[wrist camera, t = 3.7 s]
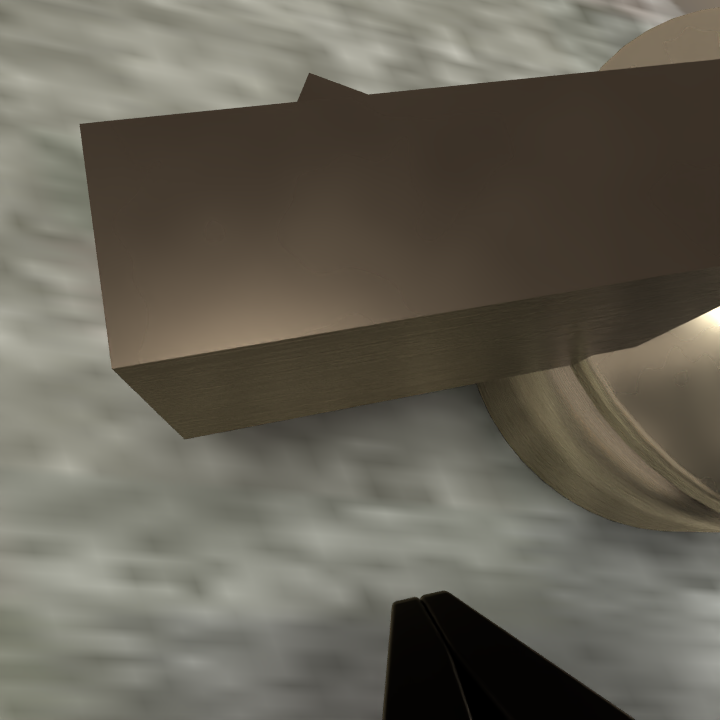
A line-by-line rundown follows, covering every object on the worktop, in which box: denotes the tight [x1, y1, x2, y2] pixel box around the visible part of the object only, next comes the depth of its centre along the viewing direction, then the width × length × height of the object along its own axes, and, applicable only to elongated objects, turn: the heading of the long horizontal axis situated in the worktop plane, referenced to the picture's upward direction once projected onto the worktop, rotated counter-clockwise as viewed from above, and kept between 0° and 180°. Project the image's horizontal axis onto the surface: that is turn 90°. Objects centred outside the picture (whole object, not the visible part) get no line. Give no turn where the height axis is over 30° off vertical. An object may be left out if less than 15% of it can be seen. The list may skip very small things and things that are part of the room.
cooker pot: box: [297, 73, 720, 532], centre depth 19 cm, size 20×13×6 cm, turn 72°
